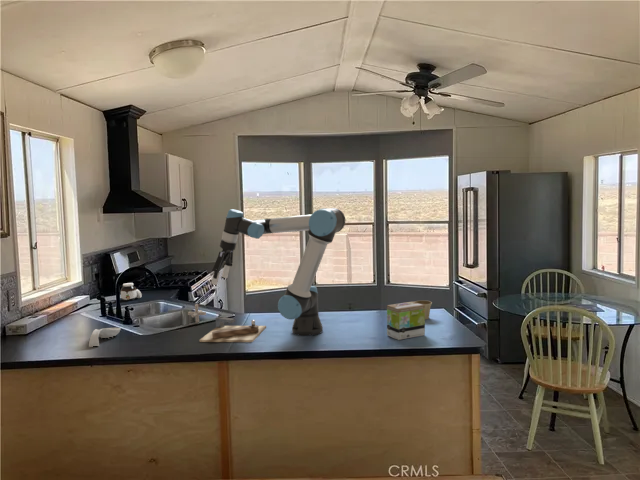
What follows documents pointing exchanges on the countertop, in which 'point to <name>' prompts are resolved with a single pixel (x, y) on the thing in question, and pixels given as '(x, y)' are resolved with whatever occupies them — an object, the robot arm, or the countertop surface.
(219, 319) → the keeper bracket
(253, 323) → the pintle
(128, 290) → the spread jar
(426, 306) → the flower pot
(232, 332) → the brown streaked bar
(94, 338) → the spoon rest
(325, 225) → the robot arm
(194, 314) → the pipe connector
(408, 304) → the tea box
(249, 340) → the maple board
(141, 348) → the countertop surface
